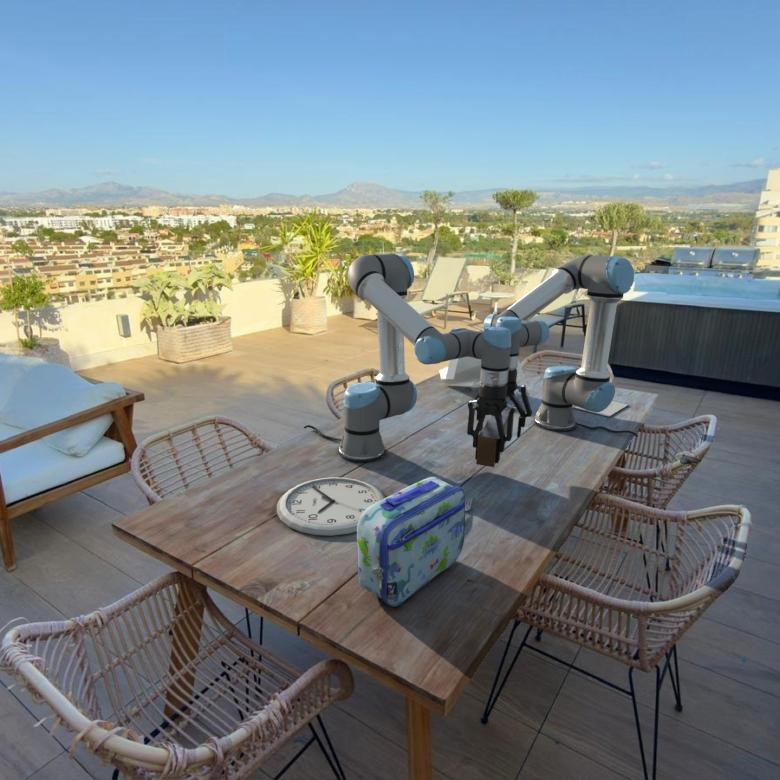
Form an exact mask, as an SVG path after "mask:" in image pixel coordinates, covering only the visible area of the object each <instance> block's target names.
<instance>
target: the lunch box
mask: <svg viewBox="0 0 780 780" xmlns="http://www.w3.org/2000/svg"><path fill="white" fill-rule="evenodd" d="M465 501H466V494H465V490H464V489H463V487H461V486H458V485H456V486H454V485H451V484H450V483H448V482H446V481H444V480H442V479H440V478H438V477H436V476H430V477H426V478H424V479H421V480H420V481H417V482H415V483H413V484H411V485H409V486H407V487H405V488H402V489H401V490H399V491H396V492H395V493H393V494H390V495H389V496H387V497H385V499H383V500H381V501H379V502H377V503H375V504H373V505H371V506H369V507H368V508H367V509H366V510H365V511H364V512H363V513H362V515H361V517H360V519H359V522H358V526H357V532H356V549H357V550H356V551H357V552H356V553H357V577H358V583H359V585H360V587H361V588H362V589H364V590H366V591H368V592H370V593H372V594H374V595H375V596H377V598H379V599H381V600H382V602H383V603H384V604H385V605H387V606H390V607H393V608H394V607H398V606H400V605H402V604H403V603H404V602H405V601H406V600H408V599H409V598H410V597H411V596H412V595H414V594H416V592H418V591H419V590H420V589H422V588H423V587H424V586H426V585H427V584H428V583H430V582H431V581H432V579H434V578H435V577H436V576H438V575H439V574H440V573H442V572H444V571H446V570H447V569H449V568H450V567H451V566H452V565H454V563H456V561H457V560H458V558H459V557H460V555H461V553H462V550H463V547H464V542H465V530H466V529H465V528H466V511H465Z"/></svg>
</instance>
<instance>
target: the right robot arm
mask: <svg viewBox="0 0 780 780" xmlns="http://www.w3.org/2000/svg"><path fill="white" fill-rule="evenodd" d="M634 281H635V270H634V266H633V264H632V263H631V261H630V260H629V259H627V258H626V257H621V256H615V255H593V254H584V255H580V256H577V257H575V258H572V259H569V260H568V261H566V262H564V263H562V264H561V265H560V266H558V267H557V268H556V269H554V270H553V271H552V272H551V273H550V276H549V277H548V278H547V279H546V280H544V281H542V282H541V283H540V284H538V285H537V286H536V287H534V288H533V289H532V290H530V291H529V292H528V293H527V294H525V295H524V296H523V297H521V298H520V299H518V300H517V301H516V302H515V303H513V304H512V305H510V306H509V307H508V308H506V309H505V310H504V311H502V312H501V313H497V314H493V313H490V314H488V315H487V316H486V317H485V319H484V321H483V330H484V329H485V328H487V327H504V328H507V329H509V330H510V331H511V350H510V357H509V372H508V382H507V383H506V385H507V394H506V399H507V398H509V400H510V401H511V402H512V404H513V406H516V411H517V412H518V414H519V417H518V421H517V431H516V438H521V435H522V428H524V427H525V426H526V419H527V418H531V417H532V415H533V410H532V407H531V403H530V400H529V397H528V396H527V393H526V385H523V386H521V384H519V385H518V383H517V378H518V377H517V376H518V373H517V369H516V368H517V367H518V359H519V358H520V357H519V356H520V355H519V354H520V348H525V347H531V346H538V345H543V344H544V343H546V342H547V341H548V340H549V337H550V327H549V325H548V324H547V322H545V321H544V320H531V319H532V318H534V317H536V315H538V314H539V313H540V312H542V311H543V310H544V309H546V308H547V307H548V306H550V305H551V304H553V302H555V301H556V300H558V299H559V298H560V297H562V296H563V295H567V294H571V292H573V291H574V290H577V289H579V290H580V289H583V290H587V291H586V296H587V298H588V299H589V300H590V304H589V310H588V317H587V324H586V332H585V338H584V346H583V351H582V358H581V364H580V367H579V368H577V367H575V366H569V365H568V366H567V365H557V366H550V367H547V368H546V369H545V371H544V375H543V378H542V379H543V381H542V392H541V402H540V405H539V407H538V410H537V411H536V413H535V416H534V424H535V425H536V426H537V427H539V428H542V429H544V430H549V431H556V432H567V431H572V430H574V429H575V428H576V426H580V427H583V428H586V429H589V430H597V429H602V430H605V431H608V432H609V433H615V434H624V433H629V434H632V435H633V436H635V437H639V435H638V434H637V433H636V432H634V431H632V430H613V429H610V428H608V427H606V426H600V425H599V426H588V425H586V424H582V423H579V422H576V418H575V417H576V416H575V413H574V407H576V406H577V407H580V408H583V409H585V410H588V411H593V412H601V411H603V410H605V409H606V408H607V407H608V406H609V405H610V403H611V402H612V401H614V397H615V394H616V387H615V384H614V383H612V382H611V381H610V379H611V374H610V373H609V371H608V363H609V359H610V358H609V356H610V351H611V345H612V339H613V332H614V326H615V320H616V313H617V307H618V303H619V302H620V301H622V300H623V299H624V294H627V293H628V292H630V290H631V289H632V287H633V284H634ZM517 390H518V392H519V393H520V396H521V399H522V403H523V405H522V404H521V402H520V401H519V398H518V397H516V395H517V394H516V395H515V393H514V391H517ZM478 398H479V392H478V393H477V395H476V397H475V398H474V401H475V400H477V399H478ZM523 406H524V407H523ZM573 406H574V407H573ZM588 411H587V412H588ZM475 412H476V418H475V419H476V421H477V422H478V421H479V418H480V415H481V412H482V411H481V409H480V407H479V406H478V404H477V406H476V408H475ZM483 428H484V423H483V424H482V427H481V430H480V432H481V431H482V429H483ZM480 432H479V433H480Z"/></svg>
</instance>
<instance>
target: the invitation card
mask: <svg viewBox="0 0 780 780" xmlns="http://www.w3.org/2000/svg"><path fill="white" fill-rule="evenodd" d="M628 406H629V404H627V403H623V402H618V401H614V400H612V402H611V403H610V405H609V406H608V407H607V408H606V409H605V410H603V411H601V412H593V411H588V410H585V409H583V408H580V407H577V406H574V407H573V409H575V410H581V411H584V412H587V413H593V414H596V415H600V416H604V417H608V418H609V417H611V416H613V415H614V414H616V413H617V412H619V411H621V410H623V409H624V408H626V407H628Z"/></svg>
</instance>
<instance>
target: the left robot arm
mask: <svg viewBox="0 0 780 780" xmlns="http://www.w3.org/2000/svg"><path fill="white" fill-rule="evenodd" d="M347 281H348V285H349V287H350V290H352V292H353V294H355V295H356V296H357V298H359V299H360V300H361V302H367V303H369V304H370V305H371V306H372V307H373V308H374V309H375V310H376V311H377V312H376V315H377V335H378V336H377V337H378V340H377V341H378V362H379V363H378V364H379V373H378V374H377V375H376V376H375V382H371V381H364V382H357V383H353V384H351V385H349V386H348V387H347V388H346V389H345V391H344V395H343V396H344V397H343V410H344V411H343V416H344V417H343V419H344V420H343V425H344V426H343V427H344V428H343V429H344V430H343V431H344V432H343V434H342V438H338V437H333V436H329V435H325V434H323V433H322V432H321V431H320V429H319V428H317V427H315V426H313V425H311V424H306V425H304V426H303V429H307V428H310V429H312V430H314V431H316V432H317V433H318V435H319V436H320V437H322V438H324V439H329V440H332V441H338V442H340V444H339V447H338V454H339V456H340V457H341V458H342V459H344V460H346V461H350V462H356V463H368V462H373V461H377V460H379V459H381V458H383V457H384V455H385V449H386V448H385V444H384V442H383V438H382V435H381V431H380V421H381V420H385V419H388V418H393V417H396V416H401V415H403V414H405V413H408V412H410V411H411V410H412V409H413V408H414V407H415V405H416V403H417V399H418V391H417V387H416V386H415V383H414V382H413V381H412V380H410V375H409V374H408V373H407V372H406V367H405V366H406V365H405V364H406V362H405V339H406V340H407V341H409V343H411V344H412V345H413V346H414V350H413V351H414V355H415V356H416V360H417V361H418V362H419V363H421V364H423V365H438V364H440V363H444V362H449V361H450V360H454V359H458V358H463V357H472V358H477V359H481V375H480V382H479V391H478V393H479V398H478V399H477V400H475V399H474V400H472V399H470V400H469V401H468V402H467V408H468V417H467V420H468V421H467V428H466V434H467V435H468V436H471V437H472V448H475V458H474V460H475V461H477V447H478V436H479V434H480V430H481V427H482V424H483V425H484V422H485V419H486V416H491V415H492V416H495V420H496V423H497V428H498V433H499V438H500V439H499V440H498V441H497V450H496V462H495V463H496V464H499V463H500V459H501V454H500V452H501V453H503V452H504V451H505V447H506V446H505V445H506V443H505V441H506V442H510V441H512V438H513V429H514V416H515V415H514V414H515V413H516V411H517V409H516V406H515V405H513V406H512V405H510V404H509V403H508V401H507V398H506V394H507V385H506V383H507V382H508V372H509V357H510V350H511V331H510V330H509V329H507V328H504V327H487V328H485V329H484V328H483V331H477V330H474V329H469V328H466V327H454V328H452V329H451V330H449V332H446V333H445V332H444V333H442V332H440V331H439V330H438V329H437V328H436V327H435V326H433V325H432V323H430V321H428V320H427V319H426V318H425V317H424V316H422V315H421V313H419V312H418V311H417V310H416V309H415V308H414V307H413V306H412V305H410V304H409V303H408V302H407V301H406V300H405V299H406V298H408V289H410V288H411V287H412V285H413V284H414V282H415V269H414V267H413V264H412V263H411V261H410V260H409V259H408V257H407V256H406V255H403V254H401V253H381V254H380V253H378V254H372V253H371V254H362V255H360V256H358V257H357V258H355V259H354V260H353V261H352V262H351V264H350V266H349V267H348V272H347ZM477 405H478V406H479V407H480V409H481V411H482V412H481V415H480V418H479V421H477V424H476V426H475V425H474V424H475V414H476V410H475V408H476V406H477ZM503 410H504V411H505V410H506V411H507V413H509V415H508V423H507V435H506V436H505V431H504V426H503V421H502V414H501V412H502V411H503ZM474 426H475V429H474Z"/></svg>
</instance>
